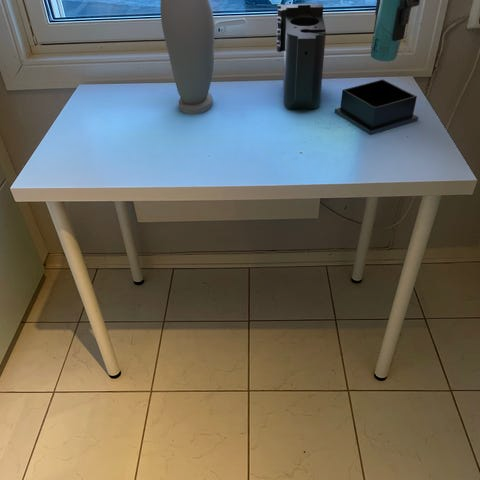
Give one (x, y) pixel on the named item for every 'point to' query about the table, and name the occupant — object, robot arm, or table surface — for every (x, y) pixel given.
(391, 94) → the square planter
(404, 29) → the robot arm
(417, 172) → the table surface
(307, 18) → the black machined bracket
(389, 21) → the beverage bottle
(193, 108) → the vase
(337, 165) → the table surface
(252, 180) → the table surface
